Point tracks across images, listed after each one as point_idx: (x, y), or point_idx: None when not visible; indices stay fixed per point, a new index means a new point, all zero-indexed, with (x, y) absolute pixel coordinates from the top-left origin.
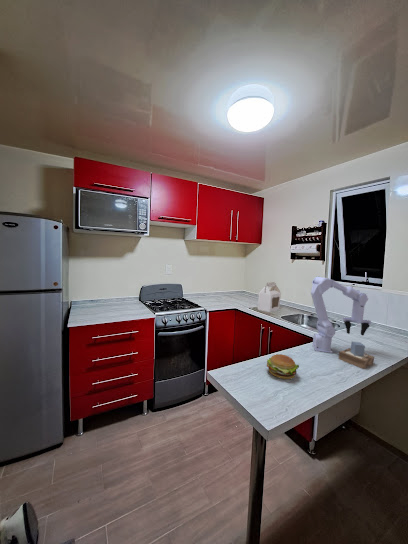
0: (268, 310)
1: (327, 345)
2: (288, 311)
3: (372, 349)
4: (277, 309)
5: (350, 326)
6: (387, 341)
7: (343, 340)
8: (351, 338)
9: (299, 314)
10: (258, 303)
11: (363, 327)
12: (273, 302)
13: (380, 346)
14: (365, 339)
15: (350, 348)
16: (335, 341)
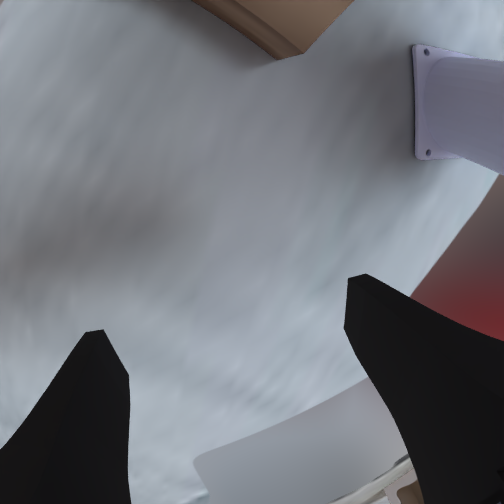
0: None
1: (487, 59)
2: (361, 495)
3: (48, 335)
4: (393, 483)
5: (472, 378)
6: None
7: (232, 394)
8: (174, 439)
9: (334, 500)
10: None
11: (79, 499)
12: (403, 497)
13: (25, 400)
14: None
15: (299, 41)
16: (300, 346)
